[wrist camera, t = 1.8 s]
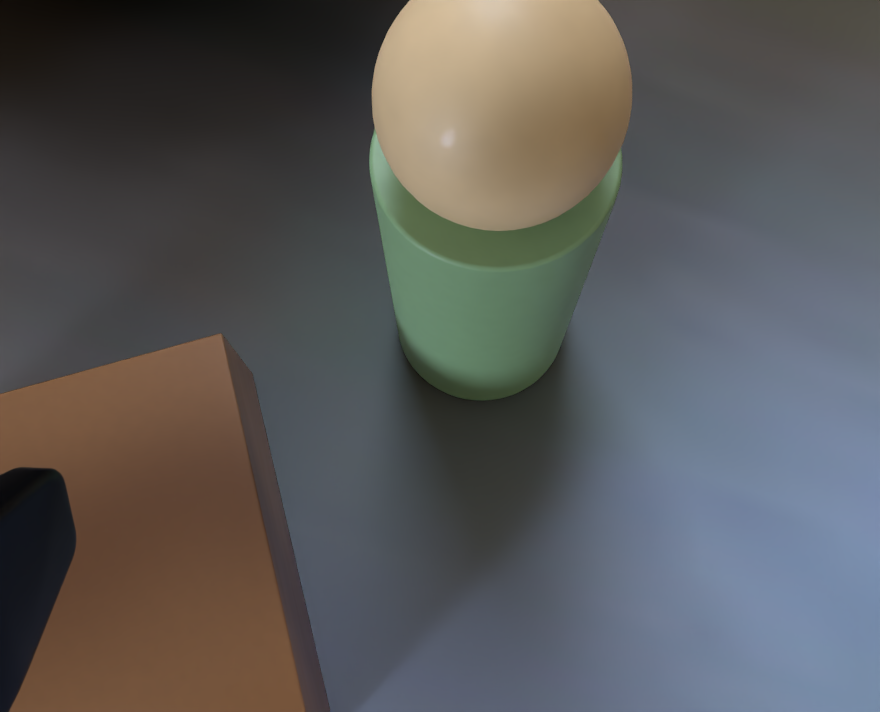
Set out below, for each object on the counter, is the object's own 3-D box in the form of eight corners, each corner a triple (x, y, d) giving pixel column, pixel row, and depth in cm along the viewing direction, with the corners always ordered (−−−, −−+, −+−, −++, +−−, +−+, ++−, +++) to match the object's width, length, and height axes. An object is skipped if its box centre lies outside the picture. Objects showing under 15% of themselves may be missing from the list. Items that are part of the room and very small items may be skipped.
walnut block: (336, 734, 19) (315, 752, 16) (-64, 861, 18) (-162, 904, 15) (252, 372, 21) (221, 332, 18) (-96, 469, 21) (-184, 443, 18)
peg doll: (591, 364, 21) (737, 82, 10) (435, 427, 21) (416, 201, 10) (522, 224, 23) (586, -155, 12) (373, 281, 22) (297, -61, 11)
